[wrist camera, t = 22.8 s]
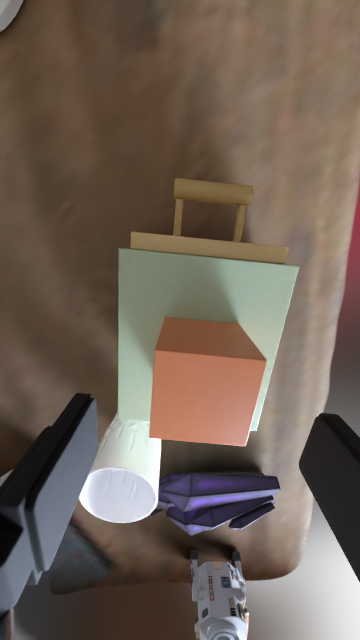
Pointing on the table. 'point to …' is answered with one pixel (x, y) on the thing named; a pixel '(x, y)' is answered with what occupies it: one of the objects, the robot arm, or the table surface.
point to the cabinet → (193, 312)
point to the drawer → (208, 247)
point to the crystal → (215, 499)
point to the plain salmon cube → (204, 382)
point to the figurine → (219, 599)
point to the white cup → (124, 473)
